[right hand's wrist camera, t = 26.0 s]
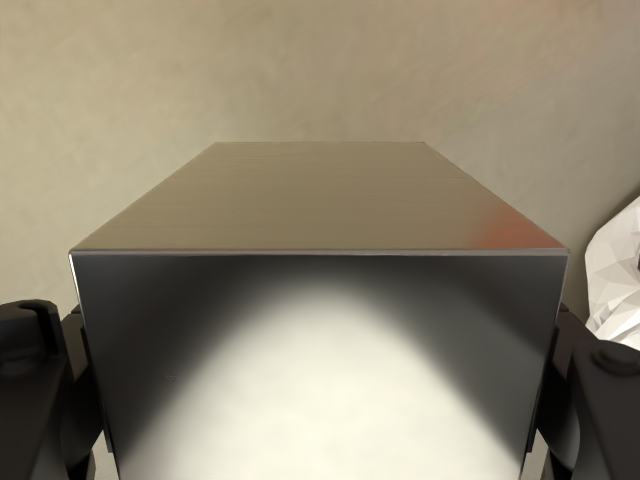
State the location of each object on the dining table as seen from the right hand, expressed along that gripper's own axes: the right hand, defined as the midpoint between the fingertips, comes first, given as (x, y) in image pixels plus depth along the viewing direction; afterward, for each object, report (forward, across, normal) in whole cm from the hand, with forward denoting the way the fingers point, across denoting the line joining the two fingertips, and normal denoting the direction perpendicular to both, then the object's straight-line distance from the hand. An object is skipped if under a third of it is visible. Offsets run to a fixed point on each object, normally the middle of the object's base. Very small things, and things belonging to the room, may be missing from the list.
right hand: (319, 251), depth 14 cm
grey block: (+1, 0, 0) cm, 1 cm away
